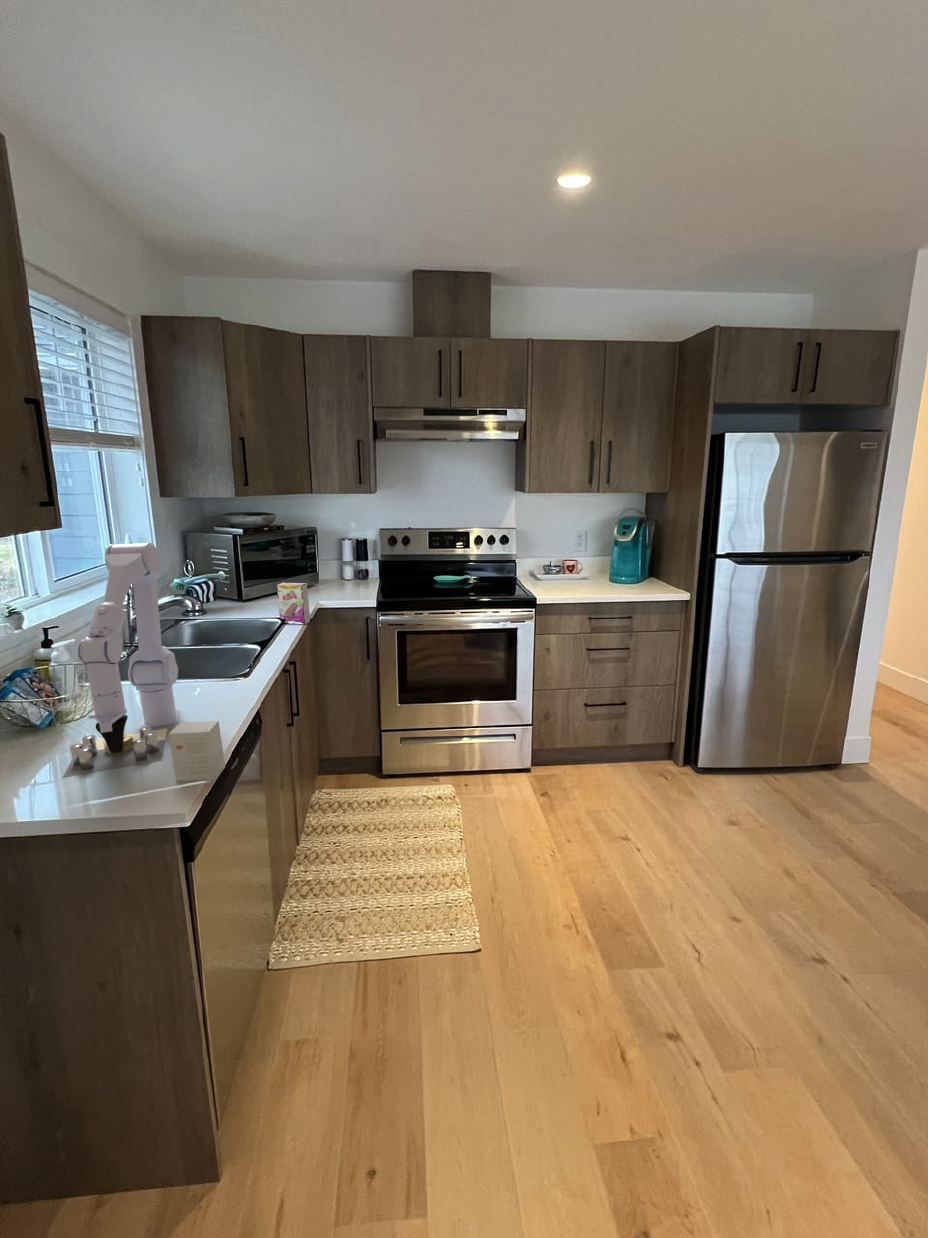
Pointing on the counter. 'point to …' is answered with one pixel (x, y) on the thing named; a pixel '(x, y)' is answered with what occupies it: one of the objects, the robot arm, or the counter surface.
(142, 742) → the standing spacers
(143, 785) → the counter surface
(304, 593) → the candy bar box
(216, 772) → the small box
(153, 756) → the spacer mat
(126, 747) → the brass nut
